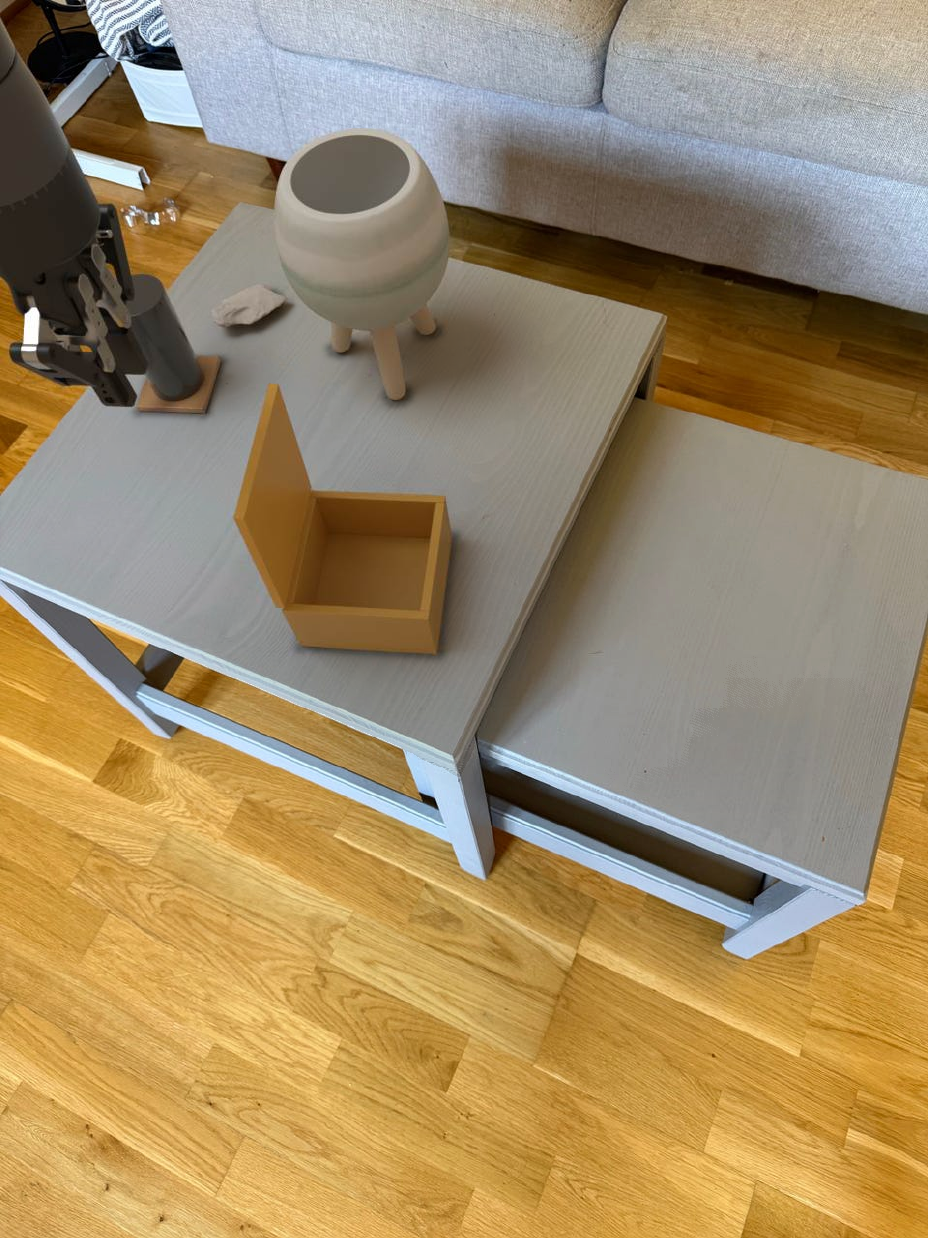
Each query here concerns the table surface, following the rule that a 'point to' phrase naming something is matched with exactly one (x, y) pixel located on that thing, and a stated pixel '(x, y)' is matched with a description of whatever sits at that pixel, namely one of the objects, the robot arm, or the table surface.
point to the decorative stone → (247, 306)
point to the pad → (188, 405)
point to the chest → (370, 572)
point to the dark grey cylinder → (163, 341)
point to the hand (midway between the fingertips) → (128, 386)
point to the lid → (274, 497)
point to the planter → (363, 238)
